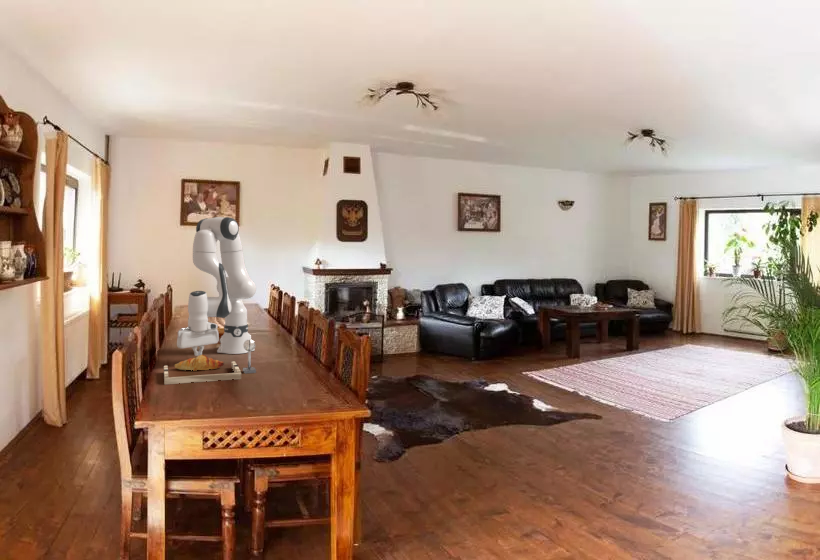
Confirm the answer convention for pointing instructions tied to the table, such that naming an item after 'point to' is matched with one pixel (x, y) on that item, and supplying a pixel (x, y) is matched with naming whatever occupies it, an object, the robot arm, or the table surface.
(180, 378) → the frame
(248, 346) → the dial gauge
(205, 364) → the croissant
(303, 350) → the table surface
